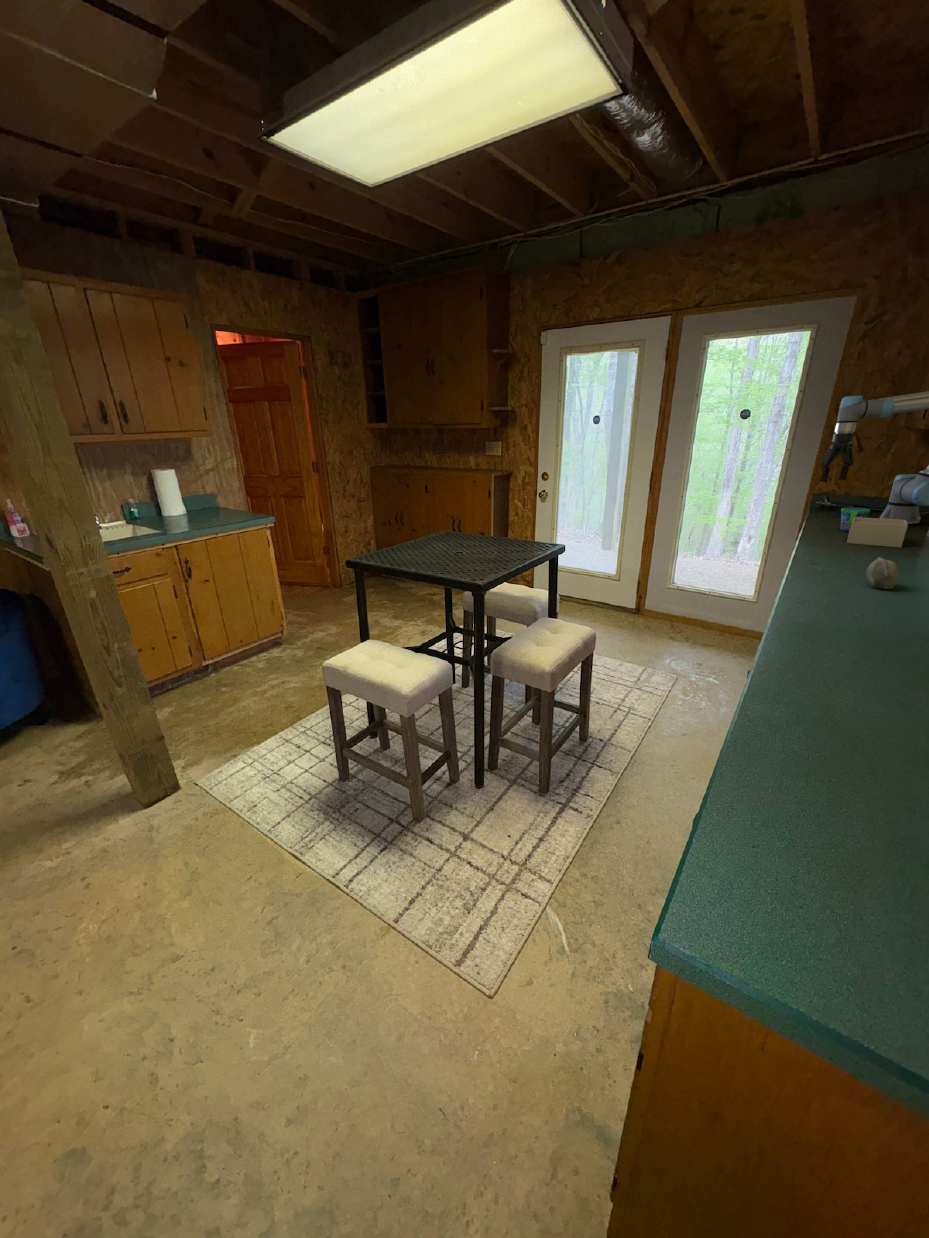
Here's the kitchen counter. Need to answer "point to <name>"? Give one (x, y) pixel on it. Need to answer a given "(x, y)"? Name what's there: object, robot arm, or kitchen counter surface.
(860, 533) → the tan rectangular box
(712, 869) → the kitchen counter surface
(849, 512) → the snack cup
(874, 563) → the garlic bulb
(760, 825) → the kitchen counter surface
